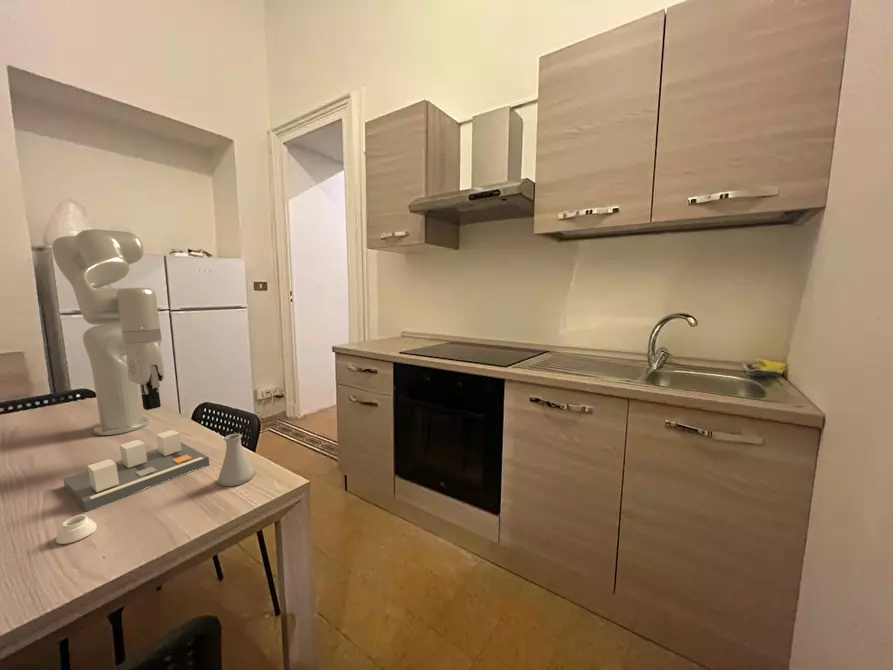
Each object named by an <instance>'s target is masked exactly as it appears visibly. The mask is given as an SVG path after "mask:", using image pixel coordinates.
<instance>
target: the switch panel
mask: <svg viewBox="0 0 893 670" xmlns="http://www.w3.org/2000/svg"><path fill="white" fill-rule="evenodd" d="M181 449H182V450H181V451H178V452H175V453H172V454H169V455H166V456H165V455H163V454H161V453H160V452H158V448H155V449H152V450H149V451H146V455H147V462H145V463H142V464H139V465H136V466H133V467H130V468H128V467H127V466H125V465H124V464H123V463H122V459H120V460H116V461H113V462H114V463H116V466H117V473H118V480H119V484H118V485H116V486H113V487H110V488H107V489H104V490H102V491H99V492H96V491H95V490H94V489H93V488H92V487H91V484H90V478H89V472H88V470H85V471H82V472H79V473H76V474H73V475H69V476H66V477H64V478H63V485H64V488H65V489H66V490H67V491H68V493H69V492H70V493H71V494H70V493H69V494H70V495H71V496H72V497H73V498H74V500H75V499H76V500H77V501H76V500H75V501H76V502H77V503H78V504H79V505H80V506H81V508H82V509H83V510H84V512H89V511H92V510H95V509H97V507H98V508H99V507H103V506H105V505H108V504H110V502H111V503H113V502H115V501H114V500H116V501H118V500H117V499H119V500H121V499H123V498H122V497H124V498H126V497H128V496H127V495H129V496H131V495H130V494H132V493H134V492H137V491H140V490H142V489H144V488H146V487H149V486H152V485H155V484H158V483H161V482H163V481H166V480H168V479H171V478H173V477H176V476H179V475H181V474H184V473H187V472H189V471H192V470H195V469H197V470H199V469H198V468H200V469H202V468H201V467H203V466H205V467H207V466H206V465H208V466H210V458H209V456H207V455H206V454H204V453H201V452H200V451H198V450H196V449H195V448H193V447H191V446H189V445H187V444H186V443H183V442H182V441H181ZM203 468H204V467H203ZM195 471H196V470H195ZM192 472H193V471H192ZM187 474H188V473H187ZM184 475H185V474H184ZM179 477H180V476H179ZM176 478H177V477H176ZM171 480H172V479H171ZM166 482H167V481H166ZM163 483H164V482H163ZM161 484H162V483H161ZM158 485H159V484H158ZM155 486H156V485H155ZM142 491H143V490H142ZM140 492H141V491H140ZM137 493H138V492H137ZM134 494H135V493H134ZM132 495H133V494H132ZM125 496H126V497H125ZM120 498H121V499H120ZM112 501H113V502H112ZM107 503H108V504H107ZM102 505H103V506H102Z"/></svg>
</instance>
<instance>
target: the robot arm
mask: <svg viewBox="0 0 893 670" xmlns="http://www.w3.org/2000/svg"><path fill="white" fill-rule="evenodd" d="M51 248H52V249H51V251H52V255H53V259H54V261H55V263H56V265H57V268H58V270H60V272H61V273H62V274H63V276H64V277H65V278H66V280H67V281H68V282H69V283H70V285H71V286H72V289H73V292H74V294H75V298H76V301H77V305H78V306H79V307H78V308H79V310H80V313H81V316H82V317H83V319H84V321H85V322H86V323H87V324H89V325H93V326H92V327H90V328H88V329H86V330H85V331H84V333H83V334H82V342H83V345H84V348H85V350H86V351H85V352H86V353H87V356H88V359H89V362H90V366H91V372H92V378H93V383H94V390H95V397H96V403H97V410H98V417H99V425H97V426H95V428H94V429H93V432H94V435H98V436H112V435H119V434H124V433H129V432H132V431H135V430H139V429H142V428H143V427H145V426H147V424H149V422H150V420H149V418H148V417H147V416H143V414H142V411H141V409H142V408H143V409H144V410H145V411H150V410H154V409H157V408H160V407H161V406H162V403H161V398H160V387H161V384H160V382H162V381H164V380H165V370H164V363H163V357H162V352H161V347H160V346H161V343H162V342H163V340H162V338H163V337H162V332H161V330H162V329H161V326H160V325H161V323H160V318H159V316H160V315H159V309H158V301H157V295H156V291H155V290H154V289H152V288H148V287H112V285H111V284H115V283H117V282H119V281H121V280H123V279H124V278H126V276H128V274H129V271H130V265H132V264H134V263H137V262H138V261H141V259H142V258H143V256H144V245H143V242H142V241H141V239H140V238H139V236H137V235H136V234H135V233H132V232H129V231H123V230H122V231H120V230H110V229H109V230H108V229H97V228H96V229H86V230H82V231H80V232H78V233H77V234H76V235H66V236H61V237H57V238H55V240H53V242H52V246H51ZM124 356H126V359H124ZM138 385H139V387H138ZM139 389H140V393H139ZM140 394H141V399H142V400H141V401H142V407H141V401H140Z"/></svg>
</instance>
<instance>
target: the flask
mask: <svg viewBox="0 0 893 670" xmlns="http://www.w3.org/2000/svg"><path fill="white" fill-rule="evenodd" d="M242 437H243V434H240V433H232V434H231V433H230V434H228V435H226V436H225V437H224V438H223V440H224V441H225V443H226V444H225V445H226V447H225V448H226V449H225V456H224V458H223V459H224V460H223V463H222V466H221V470H220V472H219V476H218V478H217V481H216V483H217V484H219V485H221V486H224V487H230V486H231V487H234V486H240V485H242V484H244V483H246V482H248V481H250V480H252V478H253V477H254V476H255V475H256V473H257V471H256V470H255V468H254V467H253V465H252V463H251V461H250V460H249V458H248V456H247V455H246V453H245V452H244V448H243V446H242V440H241V439H242Z"/></svg>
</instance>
